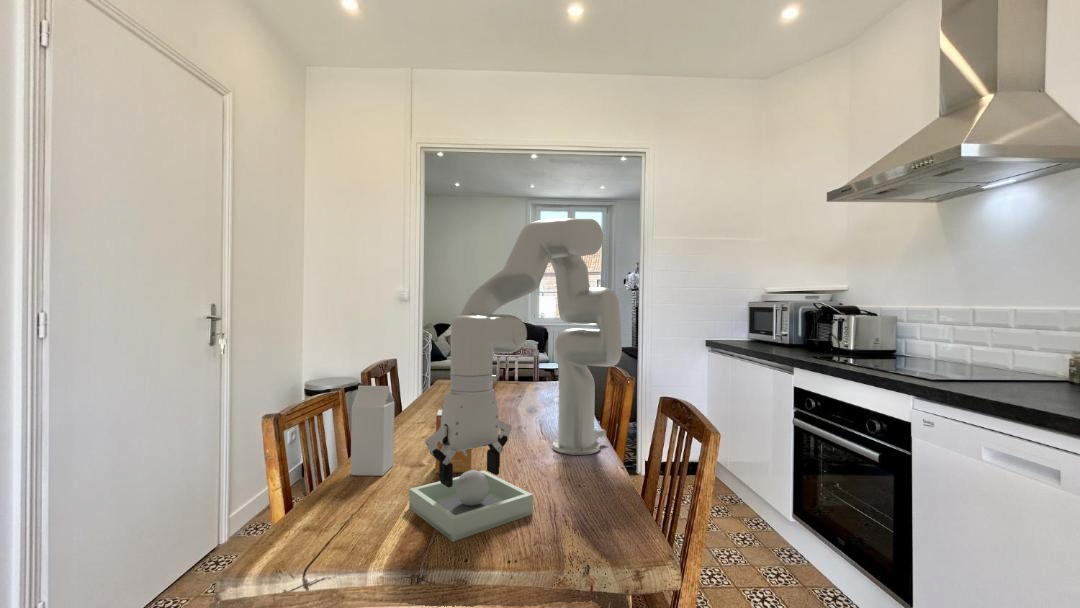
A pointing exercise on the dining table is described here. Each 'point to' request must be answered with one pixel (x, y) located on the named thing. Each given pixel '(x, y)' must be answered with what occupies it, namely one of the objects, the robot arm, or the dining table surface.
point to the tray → (459, 526)
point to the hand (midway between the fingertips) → (470, 478)
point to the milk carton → (372, 431)
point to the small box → (460, 459)
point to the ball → (472, 487)
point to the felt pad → (458, 507)
